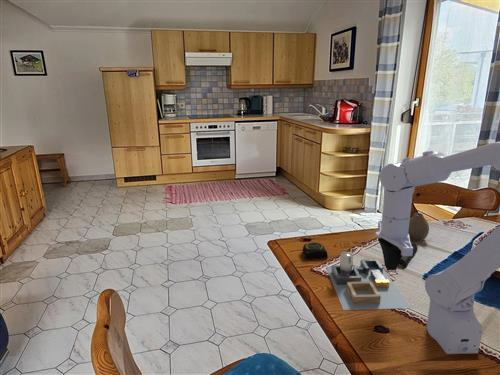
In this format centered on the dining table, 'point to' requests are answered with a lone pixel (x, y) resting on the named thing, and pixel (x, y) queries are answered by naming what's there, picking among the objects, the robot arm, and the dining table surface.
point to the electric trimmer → (407, 258)
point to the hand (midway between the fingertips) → (390, 268)
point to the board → (388, 295)
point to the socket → (356, 271)
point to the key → (379, 279)
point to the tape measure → (314, 251)
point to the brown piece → (363, 299)
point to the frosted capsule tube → (346, 264)
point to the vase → (418, 227)
